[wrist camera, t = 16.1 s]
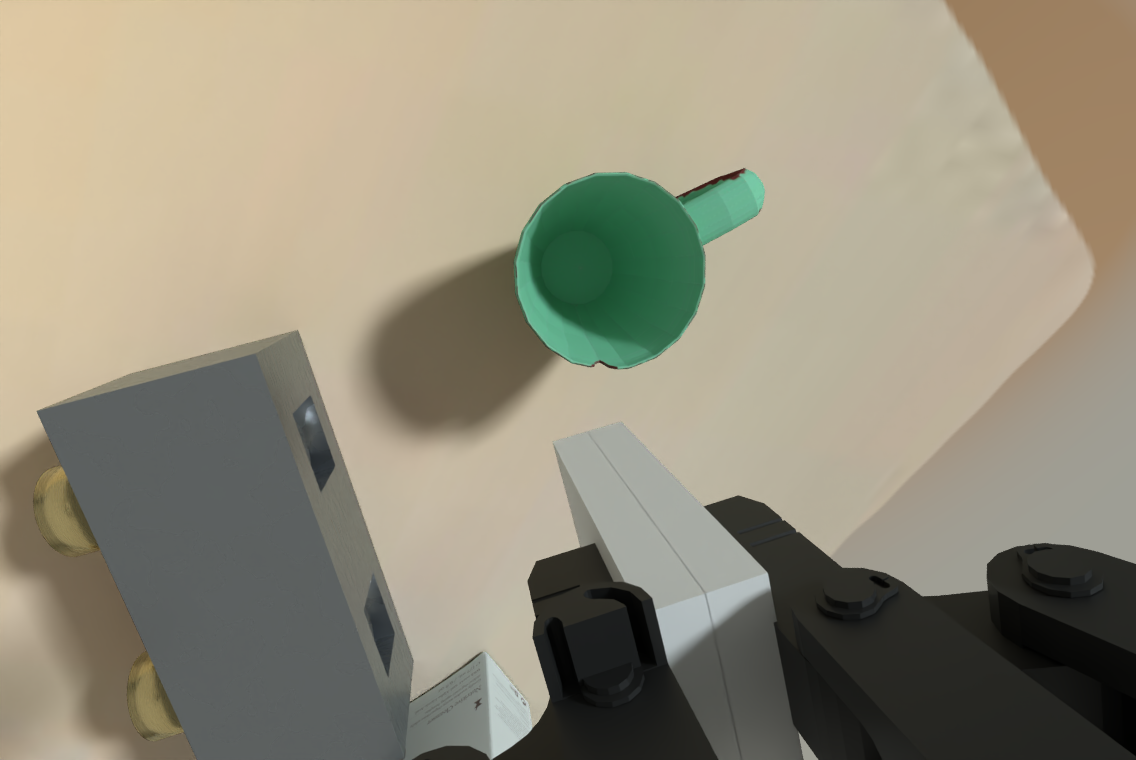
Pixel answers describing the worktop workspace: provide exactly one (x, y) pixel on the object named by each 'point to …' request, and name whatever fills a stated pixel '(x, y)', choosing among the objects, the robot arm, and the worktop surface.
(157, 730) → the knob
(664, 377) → the worktop surface
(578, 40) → the worktop surface
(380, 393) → the worktop surface
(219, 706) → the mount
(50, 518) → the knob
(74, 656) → the worktop surface
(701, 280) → the mug
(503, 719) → the skincare box
